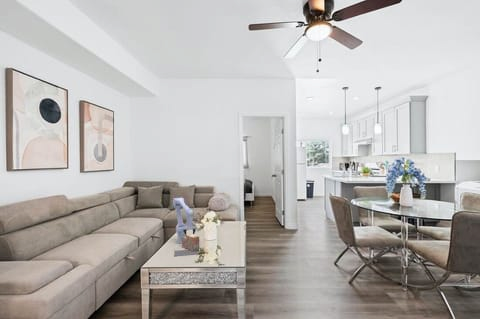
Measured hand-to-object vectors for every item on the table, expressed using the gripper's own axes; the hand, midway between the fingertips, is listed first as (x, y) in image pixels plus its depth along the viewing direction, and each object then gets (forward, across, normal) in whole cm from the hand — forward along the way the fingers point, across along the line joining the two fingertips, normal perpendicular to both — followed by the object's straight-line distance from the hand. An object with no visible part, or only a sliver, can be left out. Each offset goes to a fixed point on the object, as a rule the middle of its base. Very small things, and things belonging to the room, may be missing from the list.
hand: (189, 237), depth 246 cm
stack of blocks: (+8, 0, -8) cm, 11 cm away
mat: (+7, 0, -18) cm, 20 cm away
